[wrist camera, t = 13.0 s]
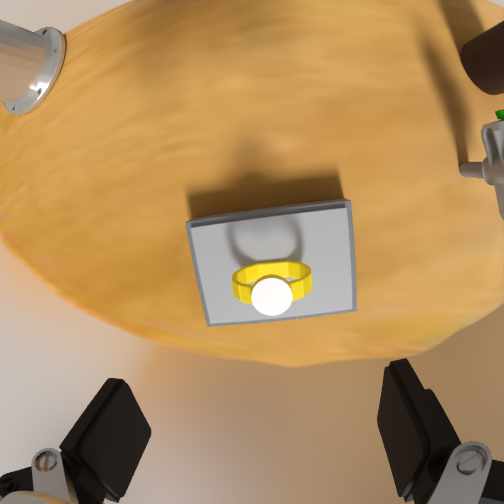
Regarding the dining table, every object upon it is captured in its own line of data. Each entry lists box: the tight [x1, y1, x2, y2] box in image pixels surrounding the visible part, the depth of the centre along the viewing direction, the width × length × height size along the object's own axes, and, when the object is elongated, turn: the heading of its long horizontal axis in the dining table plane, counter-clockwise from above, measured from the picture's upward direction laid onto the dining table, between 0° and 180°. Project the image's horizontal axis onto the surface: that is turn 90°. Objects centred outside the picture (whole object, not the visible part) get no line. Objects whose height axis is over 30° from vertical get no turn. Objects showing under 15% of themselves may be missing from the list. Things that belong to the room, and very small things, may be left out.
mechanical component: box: [459, 110, 504, 220], centre depth 18 cm, size 3×10×10 cm, turn 23°
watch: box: [231, 260, 312, 316], centre depth 22 cm, size 6×3×6 cm, turn 97°
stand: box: [185, 198, 357, 327], centre depth 26 cm, size 14×10×3 cm
